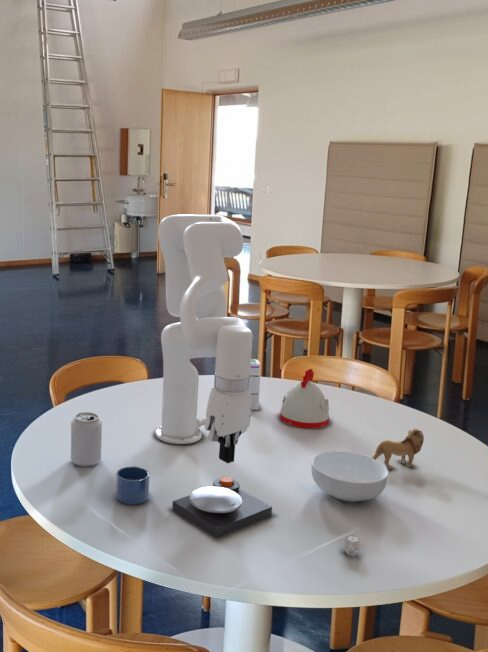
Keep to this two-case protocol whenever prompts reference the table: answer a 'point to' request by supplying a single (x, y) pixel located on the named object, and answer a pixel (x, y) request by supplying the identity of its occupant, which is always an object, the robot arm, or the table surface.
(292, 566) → the table surface
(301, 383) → the kitchen timer
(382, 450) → the lion figurine
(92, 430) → the can
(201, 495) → the pan
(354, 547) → the game die
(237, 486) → the scale
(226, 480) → the button
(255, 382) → the syrup box
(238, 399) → the robot arm
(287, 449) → the table surface
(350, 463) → the cereal bowl
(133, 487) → the blue cup
